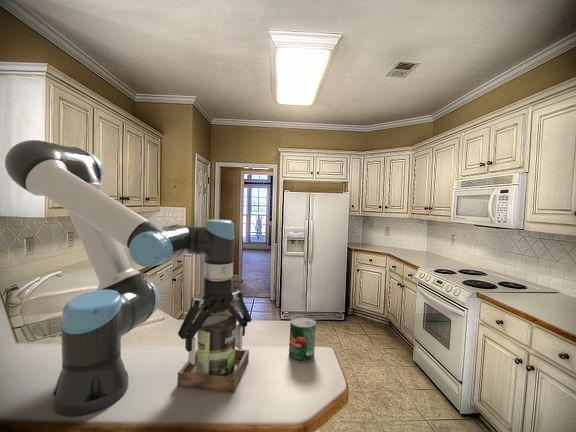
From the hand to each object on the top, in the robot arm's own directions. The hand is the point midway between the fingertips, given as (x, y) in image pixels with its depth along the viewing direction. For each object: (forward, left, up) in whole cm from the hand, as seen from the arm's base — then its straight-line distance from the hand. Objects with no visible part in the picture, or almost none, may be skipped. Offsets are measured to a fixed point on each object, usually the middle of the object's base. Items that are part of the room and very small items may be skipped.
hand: (216, 354), depth 82 cm
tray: (0, 0, -5) cm, 5 cm away
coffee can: (0, 0, -5) cm, 5 cm away
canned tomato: (+22, +14, -5) cm, 27 cm away
